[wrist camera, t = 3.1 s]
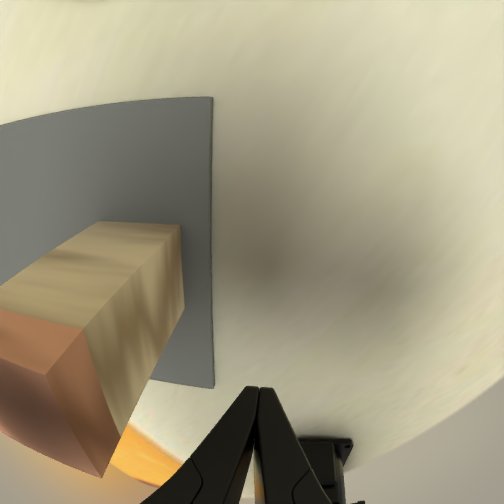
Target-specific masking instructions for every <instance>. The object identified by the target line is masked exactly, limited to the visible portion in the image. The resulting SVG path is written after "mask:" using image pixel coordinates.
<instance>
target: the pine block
mask: <svg viewBox="0 0 504 504" xmlns="http://www.w3.org/2000/svg"><path fill="white" fill-rule="evenodd" d="M184 309H185V303H184V289H183V272H182V252H181V227H180V225H175V224H155V223H134V222H110V221H98V222H96V223H95V224H93V225H91V226H90V227H88V228H86V229H85V230H83V231H82V232H80V233H78V234H77V235H75V236H74V237H72V238H70V239H69V240H67V241H66V242H64V243H62V244H61V245H59V246H58V247H56V248H55V249H53V250H52V251H50V252H49V253H47V254H46V255H44V256H43V257H41V258H40V259H38V260H37V261H35V262H34V263H32V264H31V265H29V266H28V267H26V268H25V269H23V270H22V271H21V272H19V273H18V274H16V275H15V276H14V277H12V278H11V279H9V280H8V281H7V282H5V283H4V284H2V285H1V286H0V432H1V433H3V434H5V435H7V436H8V437H10V438H12V439H14V440H16V441H18V442H19V443H21V444H23V445H25V446H27V447H29V448H31V449H33V450H35V451H37V452H39V453H41V454H43V455H45V456H48V457H50V458H52V459H54V460H56V461H59V462H61V463H63V464H66V465H68V466H70V467H73V468H75V469H78V470H81V471H83V472H86V473H88V474H91V475H94V476H96V477H99V478H102V477H103V475H104V472H105V470H106V468H107V466H108V464H109V462H110V459H111V457H112V455H113V453H114V451H115V449H116V447H117V444H118V442H119V440H120V438H121V436H122V434H123V432H124V429H125V427H126V425H127V423H128V421H129V419H130V417H131V415H132V413H133V411H134V409H135V406H136V404H137V402H138V400H139V398H140V396H141V394H142V392H143V390H144V388H145V386H146V384H147V382H148V380H149V378H150V376H151V374H152V372H153V370H154V368H155V366H156V364H157V362H158V360H159V358H160V356H161V354H162V352H163V350H164V348H165V346H166V344H167V342H168V340H169V338H170V336H171V334H172V332H173V330H174V328H175V326H176V324H177V322H178V320H179V318H180V316H181V314H182V312H183V310H184Z"/></svg>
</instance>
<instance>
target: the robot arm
mask: <svg viewBox="0 0 504 504" xmlns="http://www.w3.org/2000/svg"><path fill="white" fill-rule="evenodd" d="M259 390H260V391H259ZM254 439H255V440H254ZM253 447H254V485H255V504H346V499H345V487H344V476H343V466H344V464H345V462H346V460H347V458H348V456H349V454H350V452H351V450H352V448H353V441H352V440H298V439H297V437H296V435H295V433H294V431H293V429H292V427H291V424H290V422H289V420H288V418H287V416H286V414H285V412H284V410H283V407H282V405H281V403H280V401H279V399H278V397H277V394H276V392H275V390H274V389H273V388H268V387H261V388H260V389H259V387H256V386H246V387H245V388H244V389H243V391H242V392H241V393H240V394H239V396H238V397H237V398H236V400H235V401H234V402H233V404H232V405H231V406H230V407H229V409H228V410H227V411H226V413H225V414H224V415H223V416H222V418H221V419H220V420H219V421H218V423H217V424H216V425H215V426H214V428H213V429H212V430H211V431H210V433H209V434H208V435H207V436H206V438H205V439H204V440H203V441H202V442H201V444H200V445H199V446H198V447H197V449H196V450H195V451H194V452H193V453H192V455H191V456H190V458H188V459H187V460H186V461H185V463H184V464H183V465H182V466H181V467H180V468H179V469H178V470H177V472H176V473H175V474H174V475H173V476H172V477H171V478H170V479H169V480H168V481H166V482H165V483H164V484H163V485H162V486H161V487H160V488H159V489H157V490H156V491H155V492H154V493H153V494H151V495H150V496H149V497H148V498H146V499H145V500H144V501H143V502H141V503H140V504H239V501H240V497H241V494H242V490H243V487H244V483H245V479H246V476H247V472H248V468H249V465H250V461H251V457H252V453H253ZM352 504H365V501H358V502H357V503H352Z"/></svg>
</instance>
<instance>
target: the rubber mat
mask: <svg viewBox="0 0 504 504" xmlns="http://www.w3.org/2000/svg"><path fill="white" fill-rule="evenodd" d="M212 103H213V98H212V97H185V98H166V99H152V100H141V101H130V102H121V103H113V104H105V105H98V106H91V107H84V108H78V109H72V110H67V111H61V112H56V113H51V114H46V115H41V116H37V117H32V118H28V119H24V120H20V121H15V122H12V123H8V124H4V125H0V286H1V285H2V284H4V283H5V282H7V281H8V280H9V279H11V278H12V277H14V276H15V275H16V274H18V273H19V272H21V271H22V270H23V269H25V268H26V267H28V266H29V265H31V264H32V263H34V262H35V261H37V260H38V259H40V258H41V257H43V256H44V255H46V254H47V253H49V252H50V251H52V250H53V249H55V248H56V247H58V246H59V245H61V244H62V243H64V242H66V241H67V240H69V239H70V238H72V237H74V236H75V235H77V234H78V233H80V232H82V231H83V230H85V229H86V228H88V227H90V226H91V225H93V224H95V223H96V222H98V221H110V222H134V223H155V224H175V225H180V227H181V252H182V272H183V289H184V303H185V309H184V310H183V312H182V314H181V316H180V318H179V320H178V322H177V324H176V326H175V328H174V330H173V332H172V334H171V336H170V338H169V340H168V342H167V344H166V346H165V348H164V350H163V352H162V354H161V356H160V358H159V360H158V362H157V364H156V366H155V368H154V370H153V372H152V374H151V376H150V378H149V379H152V380H158V381H163V382H169V383H175V384H181V385H187V386H194V387H201V388H208V389H214V385H215V380H214V357H213V331H212V295H211V138H212Z"/></svg>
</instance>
